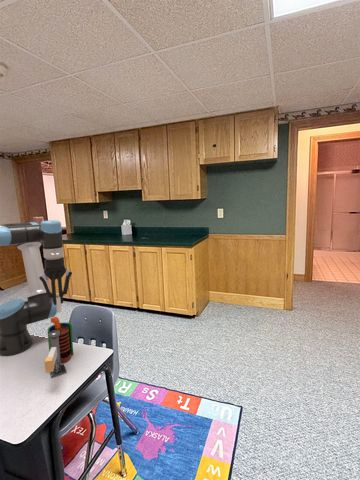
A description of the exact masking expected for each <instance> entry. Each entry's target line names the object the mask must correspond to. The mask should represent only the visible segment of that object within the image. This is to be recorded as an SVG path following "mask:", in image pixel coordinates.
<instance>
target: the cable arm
mask: <svg viewBox="0 0 360 480" xmlns="http://www.w3.org/2000/svg"><path fill="white" fill-rule="evenodd" d="M56 358H57V347H51V349H50V352H49V351H48V354H47V357H46V358H44V368H45V370H44V371H45V373H47V374H49V372H53V371H54V364H55V361H56Z"/></svg>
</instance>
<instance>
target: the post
mask: <svg viewBox="0 0 360 480" xmlns="http://www.w3.org/2000/svg"><path fill="white" fill-rule="evenodd" d="M59 335H60V331H59V330H52V331H50V332H49V333H48V332H47V337H48V336H49V337H50V338H51V347H57V358H56V361H55V364H54V371H53V372H48V374H49V375H50V379H53V378H56V377H59V376H61V375H64V374H67V373H68V372H67V369H66V367H65V363H63V364H61V359H60V348H59V337H58V336H59Z"/></svg>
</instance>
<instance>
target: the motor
mask: <svg viewBox="0 0 360 480" xmlns="http://www.w3.org/2000/svg"><path fill="white" fill-rule="evenodd" d="M50 324H52V325H50V326H49V327H48V328H47V334H48V333H49V332H50V331H52V330H59V331H60V335H59V336H58V337H59V348H60V359H61V365H62V364H66V363H68V362H69V361H70V360H71V359H72V356H74V347H73V329H72V327H73V326H72V323H70V322H60V319H59V317H58V316H54V317H51V318H50ZM47 338H48V339H47V341H48V353H49V352H50V349H51V338H50V337H49V336H48V335H47Z"/></svg>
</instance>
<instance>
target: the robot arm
mask: <svg viewBox="0 0 360 480" xmlns="http://www.w3.org/2000/svg"><path fill="white" fill-rule="evenodd" d="M63 244H64V243H63V227H62V223H61V221H60V220H56V219H55V220H54V219H53V220H43V221H41V222H40V223H38V222H34V221H28V222H16V223H14V222H13V223H3V224H0V247H2V246H4V247H6V246H16V247H17V249H18V250H20V251H21V255H22V260H23V265H24V271H25V276H26V282H27V286H28V291H29V294H28V296H27V297H26V298H27V300H24V299H21V298H17V299H13V300H8V301H6V302H4V303H2V304H0V356H2V357H4V356H5V357H6V356H7V357H8V356H9V357H10V356H15V355H19V354H20V353H24V352H25V351H28V349H30V348H31V347H32V346H33V344H34V343H33V338H32V336H31V334H30V331H28V325H30V324H31V325H32V324H34V323H37V322H41V321H45V320H49V319H51V318H53V317H56V315H57V313H62V304H63V303H64V296H65V295H67V294H68V291H69V285H70V279H71V277H72V274H73V272H72V271H71V270H68V269H67V268H66V264H65V258H64V257H65V256H64V253H65V252H64V245H63ZM41 246H42V252H43V258H44V260H42V256H41V251H40V248H41ZM43 261H44V264H43ZM64 275H65V279H64V284H63V279H62V278H63V277H64ZM46 277H47V278H48V279H49V280H50V285H51V286H50V287H51V290H50V288H49V286H48V283H47V280H46ZM56 281H57V290H58V295H57V292H56V291H57V290H56Z"/></svg>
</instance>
